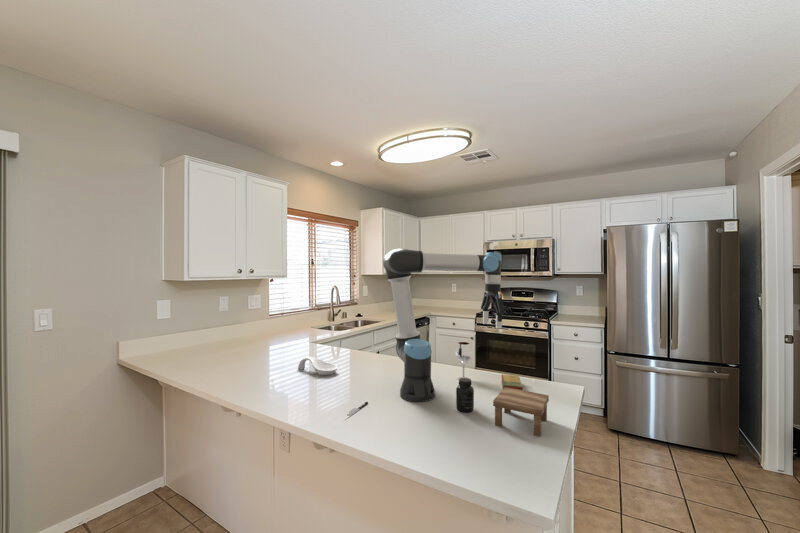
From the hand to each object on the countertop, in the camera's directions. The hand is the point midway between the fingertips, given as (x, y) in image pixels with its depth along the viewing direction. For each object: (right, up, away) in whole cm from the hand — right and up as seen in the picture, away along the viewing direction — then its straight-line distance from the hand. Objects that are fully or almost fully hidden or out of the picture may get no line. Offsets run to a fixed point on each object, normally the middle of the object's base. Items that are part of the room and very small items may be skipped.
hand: (491, 325), depth 173 cm
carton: (+6, -27, -12) cm, 31 cm away
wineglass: (-14, -27, 0) cm, 30 cm away
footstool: (-2, -27, -48) cm, 55 cm away
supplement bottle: (-20, -27, -37) cm, 50 cm away
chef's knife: (-64, -27, -39) cm, 80 cm away
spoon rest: (-90, -27, +10) cm, 94 cm away
